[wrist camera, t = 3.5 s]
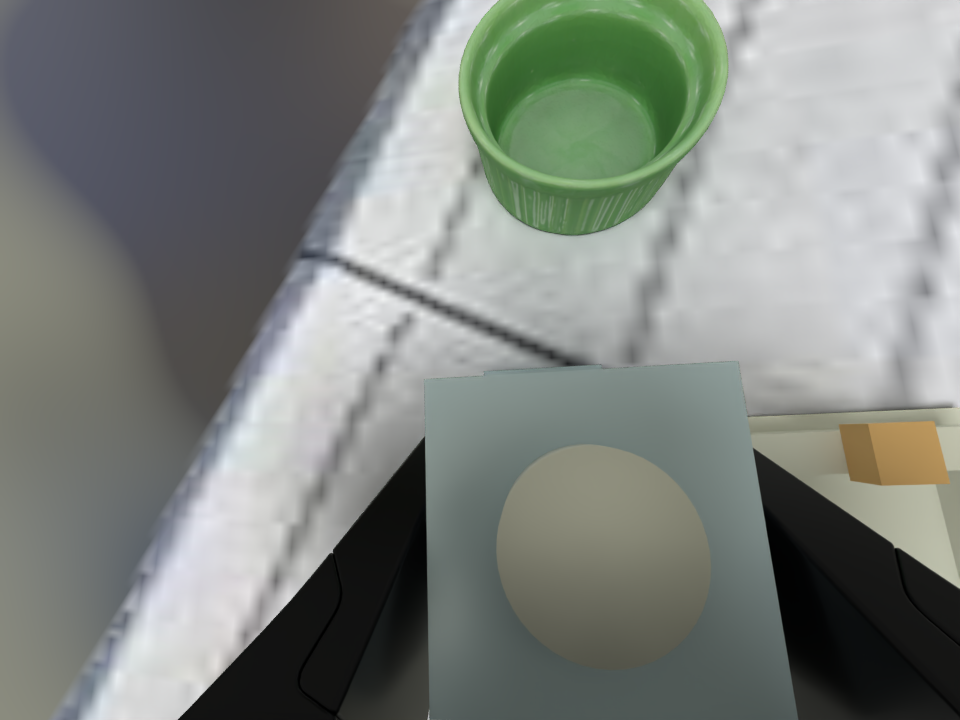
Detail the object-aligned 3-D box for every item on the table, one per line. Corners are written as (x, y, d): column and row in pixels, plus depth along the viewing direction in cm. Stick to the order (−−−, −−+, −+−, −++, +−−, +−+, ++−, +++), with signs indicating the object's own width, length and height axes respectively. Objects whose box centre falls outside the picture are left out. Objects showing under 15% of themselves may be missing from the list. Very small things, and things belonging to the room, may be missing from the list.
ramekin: (623, 41, 18) (653, -80, 14) (716, 199, 16) (785, 116, 12) (446, 118, 18) (422, 23, 14) (518, 281, 17) (516, 229, 12)
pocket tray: (1071, 851, 11) (1358, 1073, 7) (699, 829, 12) (778, 1011, 9) (953, 408, 14) (1123, 399, 10) (649, 421, 15) (694, 418, 11)
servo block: (617, 570, 14) (893, 990, 4) (494, 571, 15) (413, 943, 4) (597, 367, 15) (752, 233, 5) (485, 374, 16) (408, 265, 5)
